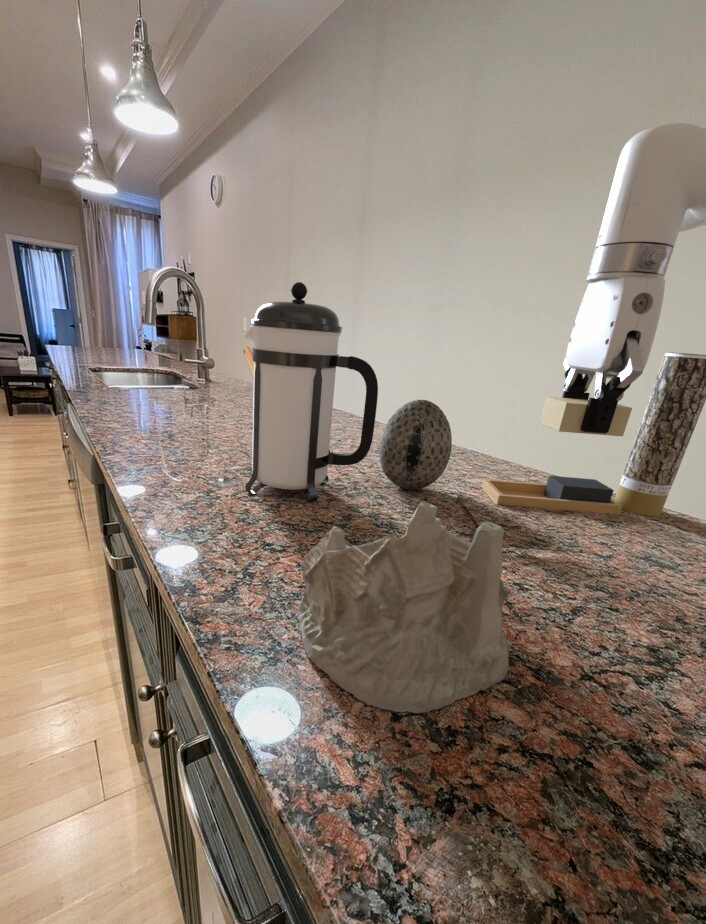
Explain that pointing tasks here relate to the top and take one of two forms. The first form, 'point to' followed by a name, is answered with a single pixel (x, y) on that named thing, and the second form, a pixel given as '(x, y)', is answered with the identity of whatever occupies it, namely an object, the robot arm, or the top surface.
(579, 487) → the charcoal pad
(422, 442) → the decorative egg
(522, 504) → the tray
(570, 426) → the beige pad
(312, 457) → the coffee press
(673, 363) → the paper tube
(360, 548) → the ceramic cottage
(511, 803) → the top surface
